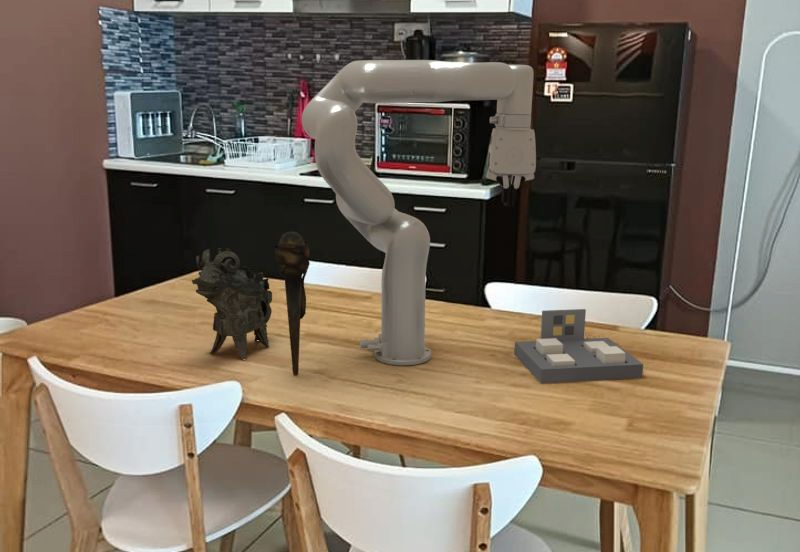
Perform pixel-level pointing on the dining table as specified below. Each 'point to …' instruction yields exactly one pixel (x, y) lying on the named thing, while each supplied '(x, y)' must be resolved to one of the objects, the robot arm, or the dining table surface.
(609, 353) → the button
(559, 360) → the button
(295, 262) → the decorative torch
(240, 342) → the vessel
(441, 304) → the dining table surface
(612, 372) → the board
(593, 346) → the button
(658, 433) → the dining table surface
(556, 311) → the card
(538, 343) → the button
